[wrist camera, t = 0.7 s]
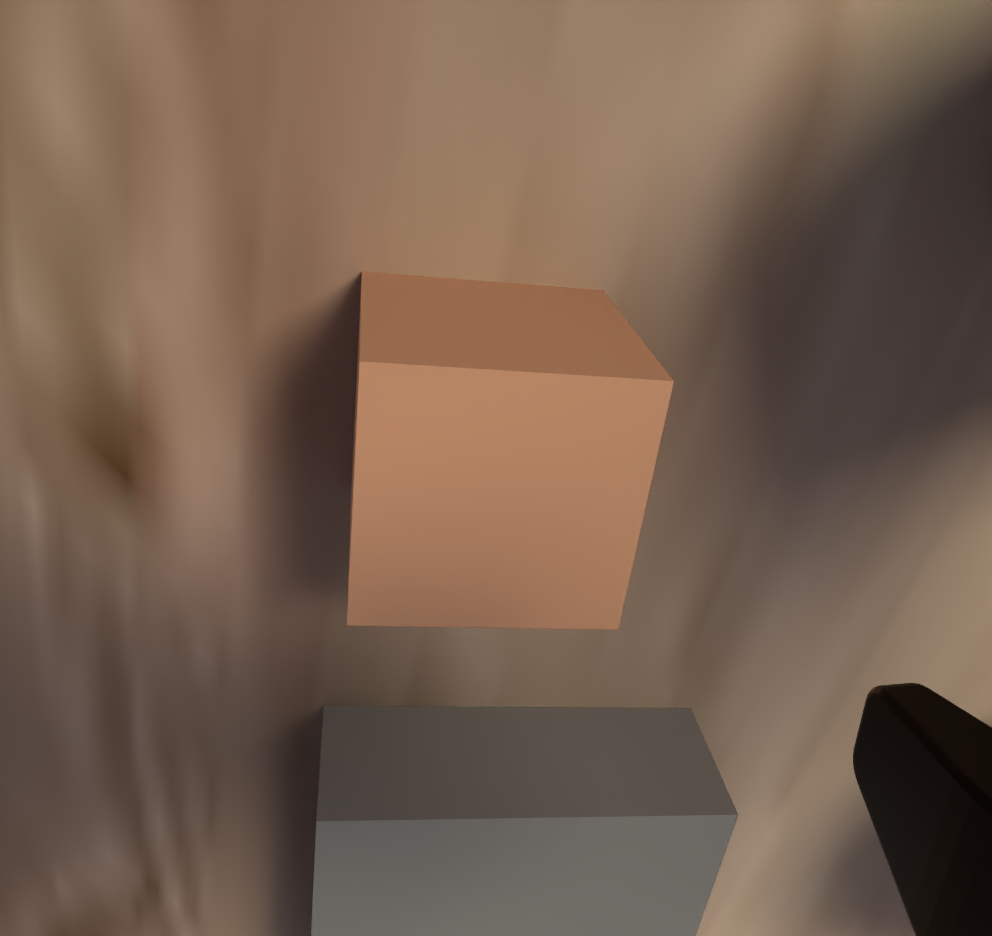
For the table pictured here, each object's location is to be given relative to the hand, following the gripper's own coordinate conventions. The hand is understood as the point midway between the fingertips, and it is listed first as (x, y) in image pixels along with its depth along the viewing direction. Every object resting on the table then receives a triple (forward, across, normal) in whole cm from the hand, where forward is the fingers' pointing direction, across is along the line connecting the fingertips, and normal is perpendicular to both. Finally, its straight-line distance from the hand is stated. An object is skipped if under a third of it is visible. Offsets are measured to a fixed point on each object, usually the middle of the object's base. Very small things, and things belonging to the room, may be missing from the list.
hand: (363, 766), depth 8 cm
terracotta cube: (+12, -2, +2) cm, 12 cm away
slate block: (+12, -2, +16) cm, 20 cm away
